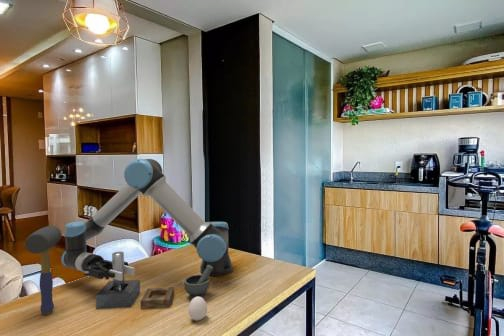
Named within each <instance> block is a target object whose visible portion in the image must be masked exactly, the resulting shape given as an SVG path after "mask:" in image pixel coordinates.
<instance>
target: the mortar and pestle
mask: <svg viewBox="0 0 504 336" xmlns="http://www.w3.org/2000/svg"><path fill="white" fill-rule="evenodd" d="M212 270H213V267H212V266H210V265H207V266H206V269H205V271H204V273H203V274H202V273H201V274H194V275H190V276H187V277H185V278H184V281H183V286H184V290H185V291H186V293H187V294H188V299H189V300H190V302H191V301H192V299H193V298H195V297H197V296H199V297H202V298H203V299H204V300H205V299H206V293H207V292H208V289H209V287H210V283H211V278H210V276H209V275H210V272H211V271H212Z"/></svg>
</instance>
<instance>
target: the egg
mask: <svg viewBox="0 0 504 336" xmlns="http://www.w3.org/2000/svg"><path fill="white" fill-rule="evenodd" d="M189 302H190V303H189V305H188V315H189V317H190V318H191V319H192V320H193V321H201V320H203V319H204V318H205V316H206V315H207V312H208V305H207V302H206V301H205V298H204V299H203V298H202V297H199V296H197V297H195V298H193V299H192V301H191V300H190V301H189Z"/></svg>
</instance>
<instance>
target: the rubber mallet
mask: <svg viewBox="0 0 504 336" xmlns="http://www.w3.org/2000/svg"><path fill="white" fill-rule="evenodd" d="M62 236H63V235H62V231H61V229H60V228H59V227H58V226H55V225H47V226H45V227H42V228H39V229H37V230H36V231H34V232H32V233H31V234H30V235H29V236H28V237H27V238H26V239H25V242H24V248H25V249H26V250H27V251H28V252H29V253H31V254H40V267H41V269H40V271H41V272H40V275H39V291H40V299H41V300H40V302H41V303H40V308H39V311H40V312H41V314H42V315H50V314H51V313H53V310H54V309H55V305H54V302H53V288H54V287H53V286H54V285H53V284H54V283H53V282H54V281H53V276H52V275H53V274H52V271H51V256H50V255H51V254H50V249H51V248H52V247H54V246H55V245H56V244H57V243H59V242H60V240H61V239H62Z"/></svg>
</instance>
